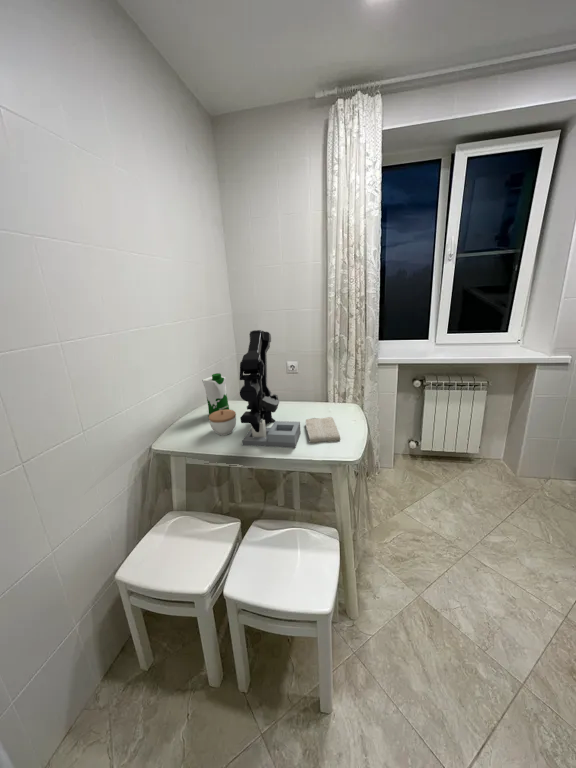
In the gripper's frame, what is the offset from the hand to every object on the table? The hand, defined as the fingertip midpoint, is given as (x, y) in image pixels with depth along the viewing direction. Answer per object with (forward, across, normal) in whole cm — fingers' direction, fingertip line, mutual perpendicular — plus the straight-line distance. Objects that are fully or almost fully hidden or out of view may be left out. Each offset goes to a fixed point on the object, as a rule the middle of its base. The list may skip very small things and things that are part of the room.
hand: (259, 430), depth 112 cm
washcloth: (+4, +8, -23) cm, 25 cm away
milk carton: (+4, +21, +27) cm, 34 cm away
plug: (+3, 0, 0) cm, 3 cm away
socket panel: (+4, 0, -5) cm, 6 cm away
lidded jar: (+4, +5, +17) cm, 18 cm away
